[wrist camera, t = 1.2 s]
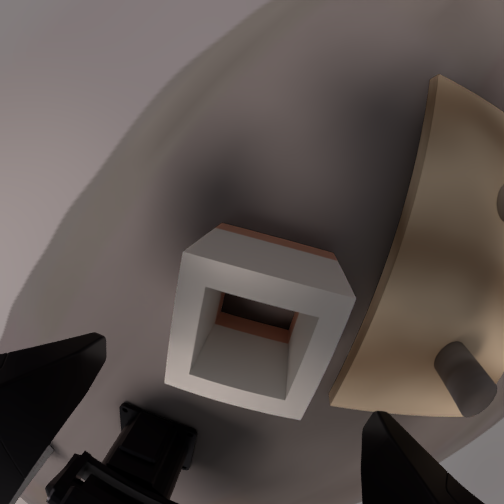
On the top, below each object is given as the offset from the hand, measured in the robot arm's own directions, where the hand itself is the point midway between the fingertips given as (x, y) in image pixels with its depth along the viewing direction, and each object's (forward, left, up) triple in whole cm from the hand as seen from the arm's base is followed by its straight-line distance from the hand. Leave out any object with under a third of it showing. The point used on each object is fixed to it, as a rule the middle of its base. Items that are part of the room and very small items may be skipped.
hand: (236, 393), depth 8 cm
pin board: (+4, -13, -8) cm, 16 cm away
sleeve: (0, 0, -8) cm, 8 cm away
